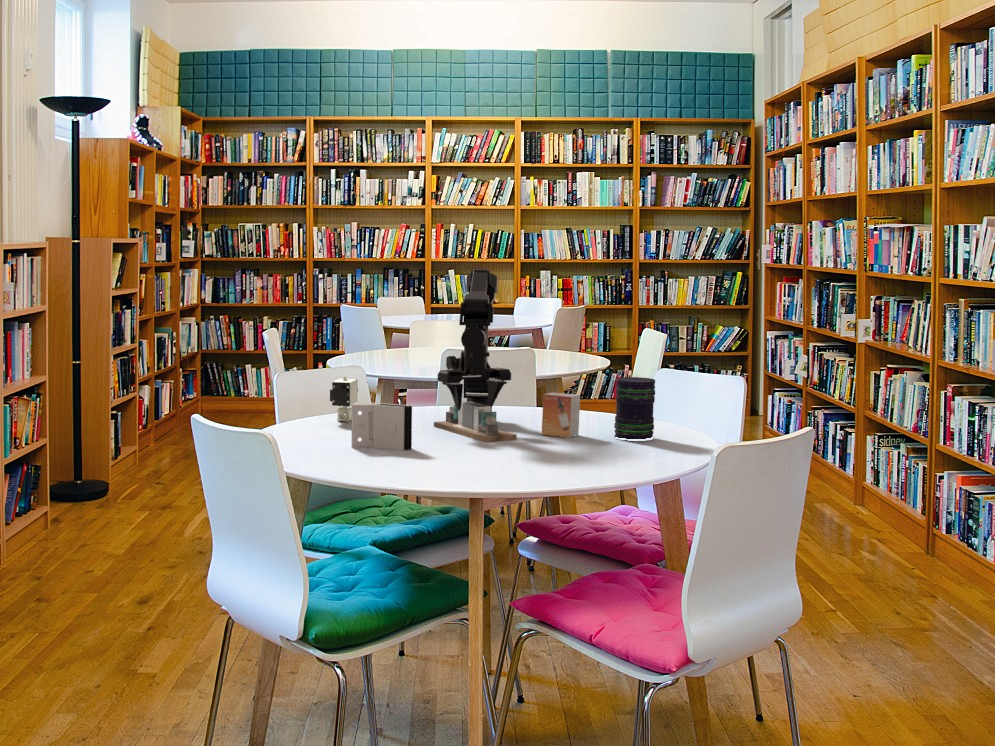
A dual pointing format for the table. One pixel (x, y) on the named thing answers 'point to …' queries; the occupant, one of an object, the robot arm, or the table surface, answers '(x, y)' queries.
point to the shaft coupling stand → (487, 435)
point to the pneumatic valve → (344, 397)
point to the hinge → (382, 426)
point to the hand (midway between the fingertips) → (474, 409)
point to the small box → (560, 414)
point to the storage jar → (634, 407)
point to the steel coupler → (472, 415)
